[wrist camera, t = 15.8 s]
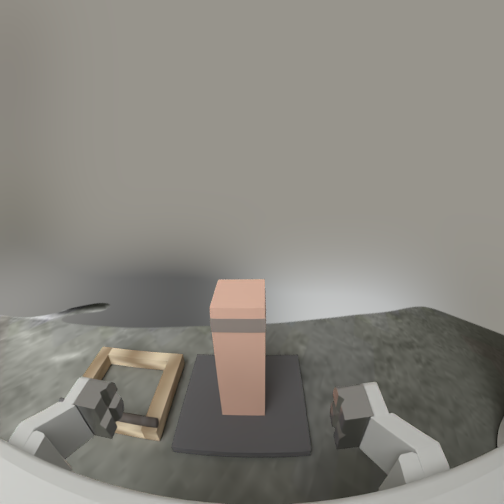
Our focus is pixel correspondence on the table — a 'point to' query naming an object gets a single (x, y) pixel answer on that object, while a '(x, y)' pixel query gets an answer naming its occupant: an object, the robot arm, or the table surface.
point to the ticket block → (240, 345)
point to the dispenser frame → (163, 396)
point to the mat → (245, 426)
